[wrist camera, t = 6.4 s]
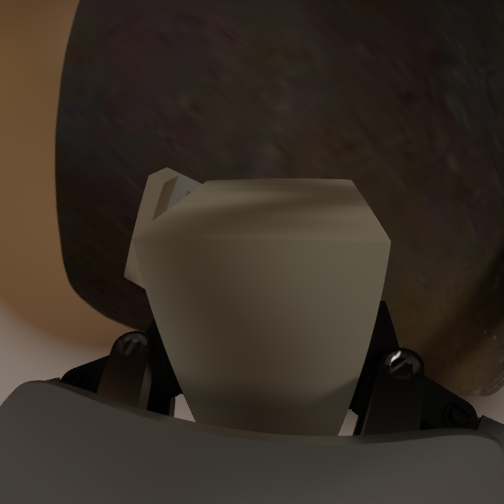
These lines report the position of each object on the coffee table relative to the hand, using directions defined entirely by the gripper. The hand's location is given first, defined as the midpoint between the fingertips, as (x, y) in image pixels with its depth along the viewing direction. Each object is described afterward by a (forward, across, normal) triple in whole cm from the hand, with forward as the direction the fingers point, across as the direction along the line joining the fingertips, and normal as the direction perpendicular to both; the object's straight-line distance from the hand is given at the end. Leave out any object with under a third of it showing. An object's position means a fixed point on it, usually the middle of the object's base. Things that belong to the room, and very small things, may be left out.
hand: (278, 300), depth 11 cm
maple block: (+1, 0, 0) cm, 1 cm away
